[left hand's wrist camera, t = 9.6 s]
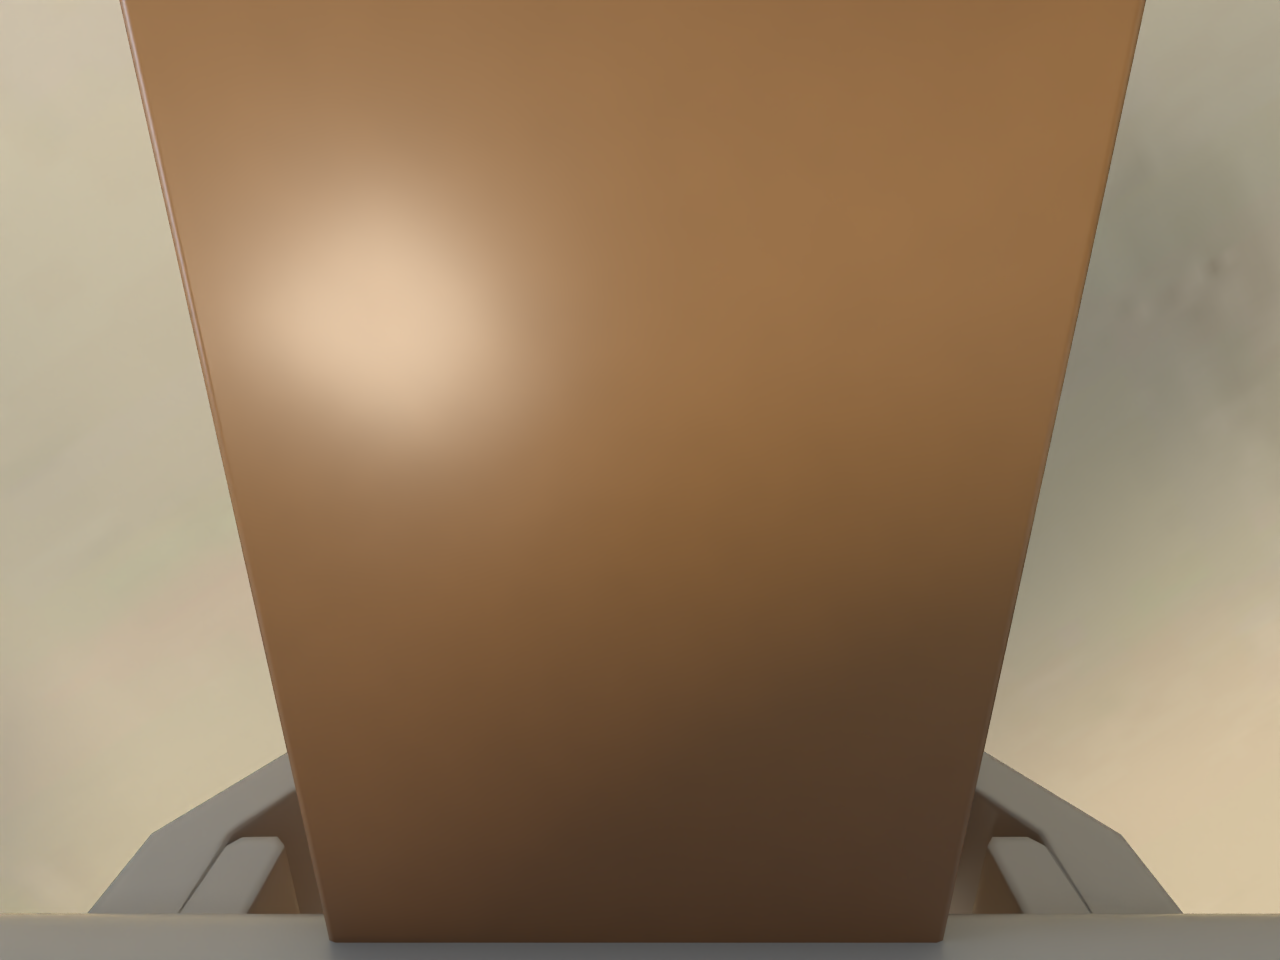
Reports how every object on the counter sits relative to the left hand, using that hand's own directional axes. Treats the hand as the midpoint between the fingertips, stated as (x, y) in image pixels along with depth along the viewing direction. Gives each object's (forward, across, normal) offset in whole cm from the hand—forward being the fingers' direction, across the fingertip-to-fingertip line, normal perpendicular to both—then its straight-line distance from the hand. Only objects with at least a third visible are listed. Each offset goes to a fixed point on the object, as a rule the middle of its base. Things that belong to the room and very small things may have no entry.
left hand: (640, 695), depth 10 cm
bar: (+3, 0, +10) cm, 11 cm away
